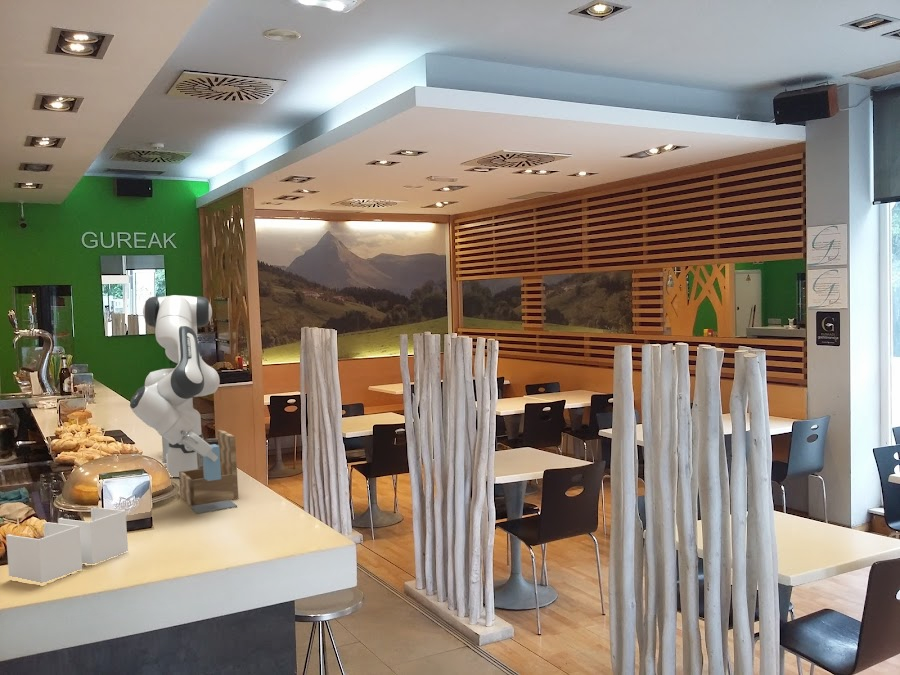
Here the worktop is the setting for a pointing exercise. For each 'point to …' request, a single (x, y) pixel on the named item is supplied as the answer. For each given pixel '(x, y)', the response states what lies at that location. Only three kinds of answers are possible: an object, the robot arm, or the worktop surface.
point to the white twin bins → (68, 546)
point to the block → (212, 465)
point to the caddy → (223, 489)
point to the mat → (213, 506)
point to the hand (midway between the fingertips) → (213, 457)
